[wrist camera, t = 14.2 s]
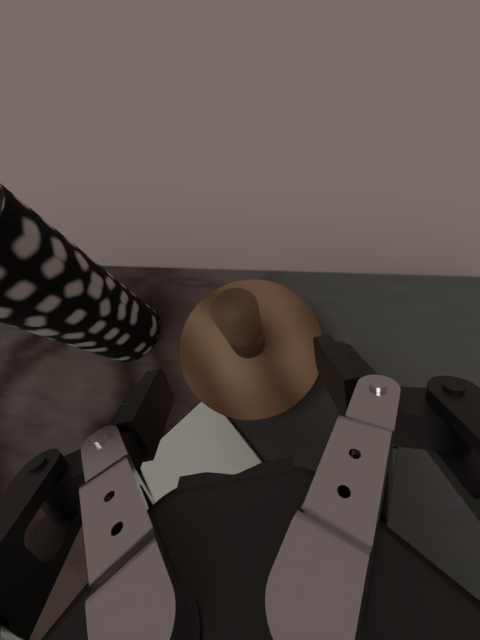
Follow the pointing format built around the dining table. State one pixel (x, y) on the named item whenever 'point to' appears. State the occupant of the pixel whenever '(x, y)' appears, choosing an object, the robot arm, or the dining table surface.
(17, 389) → the dining table surface
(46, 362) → the dining table surface
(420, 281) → the dining table surface
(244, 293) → the walnut lid
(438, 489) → the dining table surface
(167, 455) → the rubber mat
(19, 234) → the spotted tube
